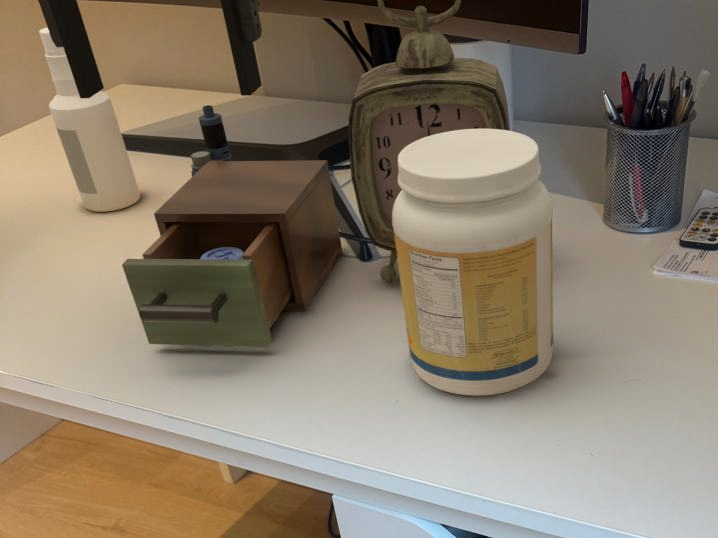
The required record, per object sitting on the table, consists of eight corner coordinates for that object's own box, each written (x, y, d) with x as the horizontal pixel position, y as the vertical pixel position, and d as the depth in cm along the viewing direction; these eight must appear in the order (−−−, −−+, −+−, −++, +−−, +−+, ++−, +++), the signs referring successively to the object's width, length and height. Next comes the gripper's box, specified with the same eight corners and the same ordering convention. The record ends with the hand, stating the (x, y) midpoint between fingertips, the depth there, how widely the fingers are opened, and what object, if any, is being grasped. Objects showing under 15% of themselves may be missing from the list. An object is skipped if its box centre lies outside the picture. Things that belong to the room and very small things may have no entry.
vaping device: (252, 222, 103) (224, 104, 95) (219, 239, 100) (188, 119, 92) (236, 218, 104) (207, 102, 96) (203, 235, 101) (170, 116, 93)
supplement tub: (446, 323, 83) (427, 119, 71) (572, 340, 79) (575, 128, 67) (387, 389, 75) (354, 174, 63) (523, 412, 72) (516, 187, 60)
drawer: (253, 369, 77) (231, 286, 72) (130, 366, 79) (100, 284, 74) (309, 284, 89) (293, 207, 83) (200, 283, 90) (178, 207, 85)
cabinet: (305, 311, 87) (285, 213, 80) (182, 309, 88) (153, 213, 82) (342, 252, 96) (327, 160, 89) (231, 251, 98) (208, 161, 91)
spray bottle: (106, 190, 114) (49, 20, 101) (152, 193, 112) (99, 21, 99) (72, 210, 109) (8, 36, 97) (119, 214, 108) (60, 37, 95)
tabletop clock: (368, 292, 89) (321, -18, 71) (377, 254, 95) (335, -40, 77) (516, 284, 88) (505, -32, 70) (514, 246, 94) (504, -52, 76)
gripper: (-144, -274, 56) (4, 108, 71) (235, -308, 52) (306, 103, 67) (-74, -276, 61) (50, 81, 76) (276, -307, 57) (334, 75, 72)
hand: (171, 92), depth 72 cm, fingers open, 13 cm apart
